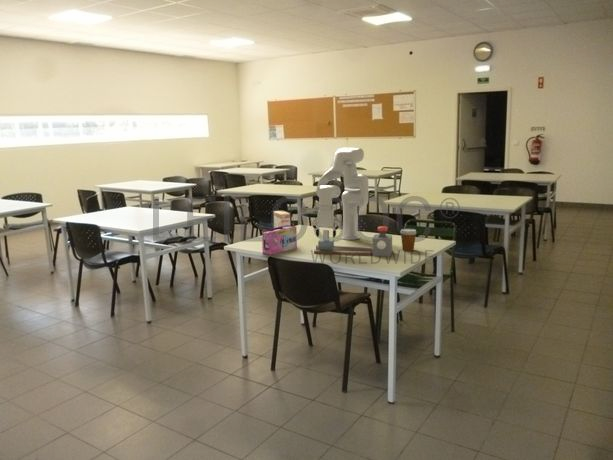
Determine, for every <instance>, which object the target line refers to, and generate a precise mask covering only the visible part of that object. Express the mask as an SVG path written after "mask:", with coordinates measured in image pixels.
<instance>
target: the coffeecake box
mask: <svg viewBox="0 0 613 460" xmlns="http://www.w3.org/2000/svg"><path fill="white" fill-rule="evenodd" d="M286 225H289V226H291V213H290V212H288V211H285V210H273V228H277V227H281V226H286Z"/></svg>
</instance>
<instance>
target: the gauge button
mask: <svg viewBox="0 0 613 460" xmlns="http://www.w3.org/2000/svg"><path fill="white" fill-rule="evenodd" d="M388 229H389V228H388V226H386V225H385V226H383V225H381V226H377V232H378V235H379V237H384V238H386V235H387V232H388Z"/></svg>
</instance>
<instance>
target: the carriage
mask: <svg viewBox="0 0 613 460" xmlns="http://www.w3.org/2000/svg"><path fill="white" fill-rule="evenodd" d="M317 245H318V246H319V249H322V250H332V246H335V239H330V230H329V229H322V238H320V239H319V240H318V242H317Z"/></svg>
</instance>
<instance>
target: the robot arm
mask: <svg viewBox="0 0 613 460" xmlns="http://www.w3.org/2000/svg"><path fill="white" fill-rule="evenodd" d="M364 156H365V153H364V149H363V148H361V147H340V148H338V149H337V151H335V152H334V154H333V158H332V161H331V164H330V168H329V170H327V171H326V172H325V173H324V174H323V175H322V176H321V177H320V178H319V179H318V182H317V186H316V193H315V194H316V196H317V197H318V200H319V201H318V210H317V215H316V216H317V217H316V219H315V220H314V221H311V223H310V224H311V226H312V228H313V229H314V230H315V236H316V237H317V238H319V236H320V228H332V238H336V236H337V230H338V229H339V228H340V226H341V222H340V221H338V220H336V219H335V218H336V217H335V211H334V209H335V206H334V205H333V199H336V198H339V197H340V195H341V202H342V204H341V205H342V212H343V213H342V222H343V223H342V225H343V226H342V227H343V230H342V232H343V233H342V234H343V235H341V236H340V238H341V239H342V240H344V241H345V240H346V241H347V240H348V241H355V240H356V241H357V240H359V239H360V238H361V236H360V235H358V234H359V233H358V229H359V228H358V227H359V226H358V225H359V224H358V222H359V221H358V220H359V217H358V215H359V214H358V209H357V208H356V206H357V207H358V206H359V207H360V206H361V207H364V206H365V207H366V206H367V205H368V203H369V179H368V178H369V177H368V176H367V175H366V174H362V173H358V171H357V170H358V169H357V164H358V163H360V162H362V161H363V159H364ZM342 176H343V186H344V188H346V189H350V190H346V191H343V192H342V191H341V188H340V187H339V185H334V184H328V183H329V182H331V181H333V180H336V179H338V178H341V177H342ZM351 189H352V190H351ZM353 189H354V190H353ZM341 192H342V194H341ZM335 225H337V226H335Z"/></svg>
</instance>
